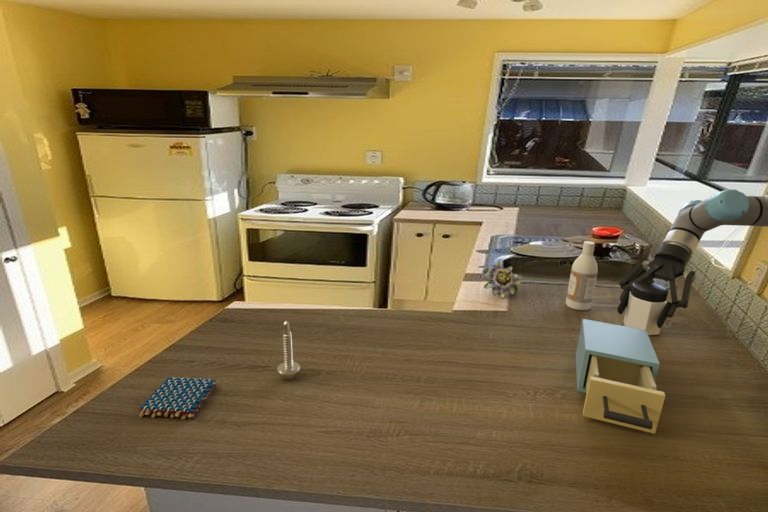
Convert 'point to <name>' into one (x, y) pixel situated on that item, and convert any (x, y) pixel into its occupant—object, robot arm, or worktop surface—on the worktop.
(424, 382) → the worktop surface
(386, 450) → the worktop surface
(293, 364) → the screw
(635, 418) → the drawer
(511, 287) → the passion flower
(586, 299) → the bath foam
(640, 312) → the jar
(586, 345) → the blue drawer cabinet
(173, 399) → the woven mat
